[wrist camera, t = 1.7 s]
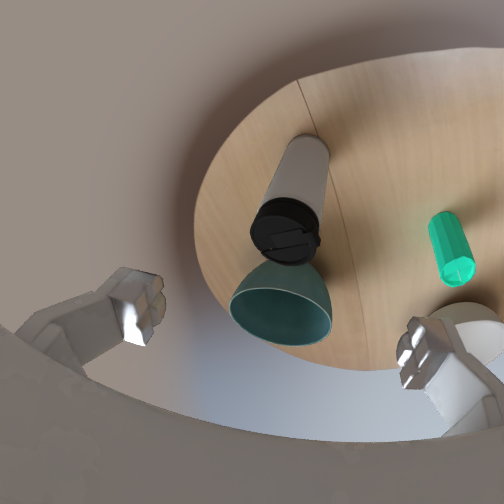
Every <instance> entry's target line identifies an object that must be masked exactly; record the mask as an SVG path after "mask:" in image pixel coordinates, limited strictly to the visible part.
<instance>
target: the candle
mask: <svg viewBox="0 0 504 504" xmlns="http://www.w3.org/2000/svg"><path fill="white" fill-rule="evenodd" d="M428 227H429V234H430V238H431V241H432V245H433V249H434V253H435V257H436V261H437V265H438V270H439V274H440V279H441V280H442V281H443V282H444V284H445V285H448V286H450V287H453V288H454V287H457V286H461V285H463V284H465V283H467V282H468V281H470V280H471V279H472V277H473V276H474V274H475V266H476V263H475V261H474V258H473V255H472V252H471V249H470V247H469V244H468V241H467V239H466V236H465V234H464V231H463V229H462V226H461V224H460V222H459V220H458V218H457V217H456V216H455V214H453V213H450V212H443V213H438V214H437V215H436V216H435V217H433V218H432V219H431V221H430V223H429V226H428Z"/></svg>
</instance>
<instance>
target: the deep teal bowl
mask: <svg viewBox="0 0 504 504" xmlns="http://www.w3.org/2000/svg"><path fill="white" fill-rule="evenodd" d="M229 311H230V314H231V316H232V318H233V320H234V321H235V322H236V323H237V324H238V325H239V326H240V327H241V328H242V329H244V330H245V331H246V332H248V333H249V334H251V335H253V336H255V337H257V338H259V339H261V340H264V341H267V342H270V343H274V344H278V345H284V346H306V345H311V344H315V343H318V342H320V341H322V340H323V339H325V338H326V337H327V336H328V335H329V333H330V331H331V328H332V307H331V301H330V296H329V293H328V290H327V287H326V285H325V283H324V281H323V279H322V277H321V276H320V274H319V273H318V272H317V271H316V269H315V268H314V267H313V266H312V265H311V264H310V263H309V262H307V263H306V264H303V265H300V266H284V265H280V264H277V263H275V262H272V261H270V260H268V261H266V262H264V263H262V264H261V265H259V266H258V267H256V268H255V269H254V270H253V271H252V272H251V273H249V274H248V276H247V277H246V278H245V279H244V280H243V281H242V282H241V284H240V285H239V286H238V288H237V289H236V291H235V293H234V294H233V296H232V298H231V300H230V303H229Z"/></svg>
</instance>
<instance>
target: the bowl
mask: <svg viewBox="0 0 504 504" xmlns="http://www.w3.org/2000/svg"><path fill="white" fill-rule="evenodd" d="M427 318H435V319H438V318H442V319H450V320H452V321H453V323H454V325H455V327H456V329H457V331H458V333H459V335H460V338H461V340H462V342H463V344H464V347H465V349H466V351H467V353H471V354H472V355H473V356H474V357H476V358H477V359H478V360H479V361H480V362H481V363H482V364H483V365H484V366H485V365H487V364H489V363H490V362H492V361H493V360H494V359H496V358H497V357H498V356H499V355H500V354H501V353H502V352H503V351H504V323H503V322H502V320H501V319H500V318H499V316H498V315H497V314H496V313H495V312H493V311H492V310H491V309H489V308H488V307H486V306H484V305H481V304H478V303H474V302H460V303H454V304H451V305H448V306H445V307H443V308H441V309H439V310H437V311H435V312H434V313H432V314H431V315H430V316H428V317H427Z"/></svg>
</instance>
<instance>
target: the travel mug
mask: <svg viewBox="0 0 504 504" xmlns="http://www.w3.org/2000/svg"><path fill="white" fill-rule="evenodd" d="M329 158H330V154H329V149H328V147H327V145H326V144H325V143H324V142H323V141H322V140H321V139H320V138H318V137H316V136H313V135H300V136H297V137H295V138H294V139H292V140H291V142H290V143H289V144H288V146H287V149H286V151H285V153H284V155H283V157H282V159H281V161H280V164H279V166H278V168H277V170H276V172H275V174H274V177H273V179H272V181H271V183H270V185H269V187H268V189H267V192H266V194H265V196H264V198H263V200H262V203H261V205H260V207H259V209H258V211H257V215H256V217H255V219H254V221H253V224H252V226H251V228H250V235H251V239H252V241H253V243H254V245H255V246H256V247H257V249H258V250H260V251H261V254H262V255H263V256H265V257H266V258H267V259H269V260H270V261H272V262H275V263H277V264H280V265H284V266H300V265H303V264H306V263H307V262H309V261H310V260H311V259H312V258H313V257H314V255H315V253H316V247H319V246H320V242H321V238H320V236H319V232H320V226H321V219H322V212H323V205H324V198H325V191H326V183H327V175H328V167H329Z"/></svg>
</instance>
